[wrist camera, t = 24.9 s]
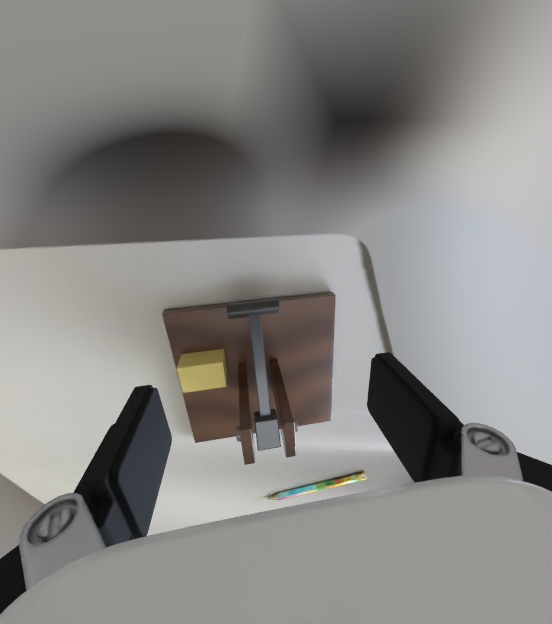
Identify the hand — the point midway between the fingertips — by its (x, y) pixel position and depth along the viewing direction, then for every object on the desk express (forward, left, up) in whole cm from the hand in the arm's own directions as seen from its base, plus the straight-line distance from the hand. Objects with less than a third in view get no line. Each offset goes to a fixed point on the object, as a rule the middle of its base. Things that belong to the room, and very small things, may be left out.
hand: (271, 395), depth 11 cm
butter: (+10, -6, -19) cm, 23 cm away
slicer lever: (+8, 0, -13) cm, 16 cm away
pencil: (+39, +8, -21) cm, 45 cm away
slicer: (+13, 0, -20) cm, 24 cm away
